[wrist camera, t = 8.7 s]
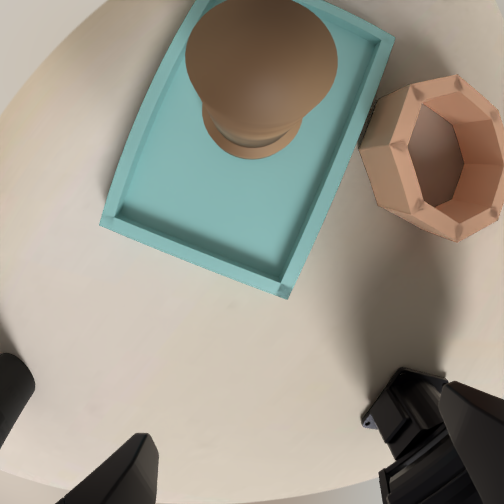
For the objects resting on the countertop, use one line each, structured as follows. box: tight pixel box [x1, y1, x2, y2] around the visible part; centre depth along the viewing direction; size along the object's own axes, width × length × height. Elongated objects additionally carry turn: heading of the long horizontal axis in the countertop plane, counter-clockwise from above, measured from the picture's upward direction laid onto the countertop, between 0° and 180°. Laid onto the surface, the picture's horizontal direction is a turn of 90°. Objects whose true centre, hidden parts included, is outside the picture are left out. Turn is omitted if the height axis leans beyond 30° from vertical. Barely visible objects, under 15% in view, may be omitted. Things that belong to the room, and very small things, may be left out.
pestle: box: [185, 0, 338, 160], centre depth 12 cm, size 5×5×10 cm
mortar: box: [359, 74, 504, 243], centre depth 17 cm, size 9×9×4 cm
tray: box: [99, 0, 395, 300], centre depth 17 cm, size 12×18×2 cm, turn 157°
